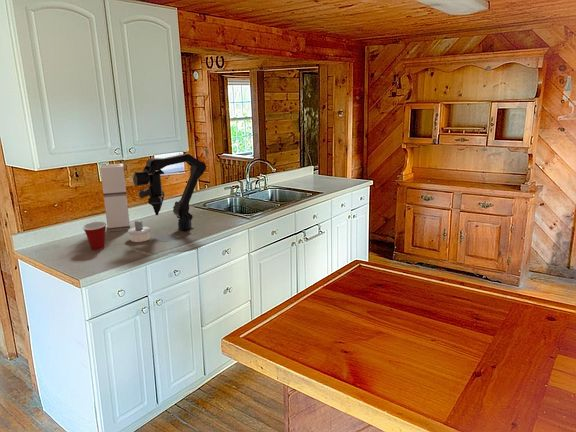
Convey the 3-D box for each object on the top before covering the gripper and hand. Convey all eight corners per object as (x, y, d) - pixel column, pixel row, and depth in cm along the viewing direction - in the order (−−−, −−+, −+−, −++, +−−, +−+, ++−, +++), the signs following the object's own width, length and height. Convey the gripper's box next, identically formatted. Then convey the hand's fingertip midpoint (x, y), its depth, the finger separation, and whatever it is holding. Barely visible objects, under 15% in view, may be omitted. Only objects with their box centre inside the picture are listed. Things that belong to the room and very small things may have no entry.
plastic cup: (80, 250, 211) (76, 226, 208) (98, 243, 220) (95, 220, 217) (95, 253, 206) (92, 228, 203) (114, 246, 215) (111, 223, 212)
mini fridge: (129, 224, 254) (123, 163, 245) (130, 229, 244) (123, 166, 235) (108, 226, 250) (100, 165, 241) (108, 231, 240) (100, 167, 231)
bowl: (142, 236, 232) (141, 227, 230) (153, 238, 227) (152, 230, 225) (127, 240, 225) (126, 232, 223) (138, 243, 219) (137, 234, 218)
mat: (167, 233, 235) (167, 233, 235) (181, 237, 229) (181, 236, 229) (150, 239, 226) (150, 238, 226) (164, 242, 220) (164, 242, 220)
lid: (141, 227, 232) (140, 217, 230) (155, 230, 226) (154, 220, 224) (123, 232, 223) (122, 222, 222) (136, 235, 217) (135, 225, 216)
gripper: (141, 180, 234) (144, 209, 238) (136, 187, 216) (139, 218, 220) (163, 179, 235) (165, 208, 239) (159, 186, 218) (162, 217, 222)
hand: (158, 212), depth 230 cm, fingers open, 9 cm apart
